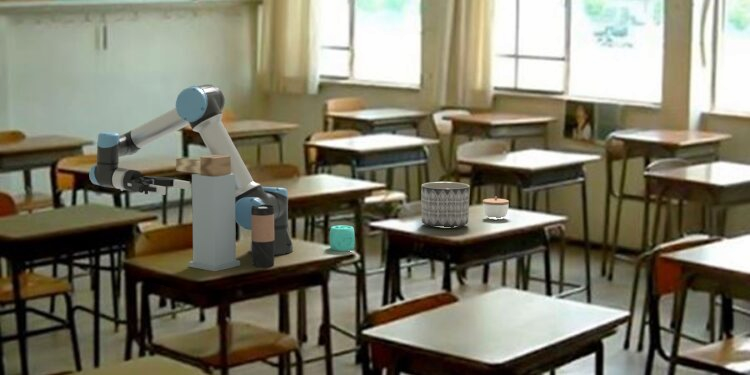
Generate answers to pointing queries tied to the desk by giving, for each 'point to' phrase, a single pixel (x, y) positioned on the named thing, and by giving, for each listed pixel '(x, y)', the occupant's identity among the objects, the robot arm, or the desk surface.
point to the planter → (445, 203)
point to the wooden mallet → (206, 165)
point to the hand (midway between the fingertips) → (177, 188)
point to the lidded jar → (495, 207)
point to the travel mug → (262, 235)
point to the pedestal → (213, 222)
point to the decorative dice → (342, 238)
